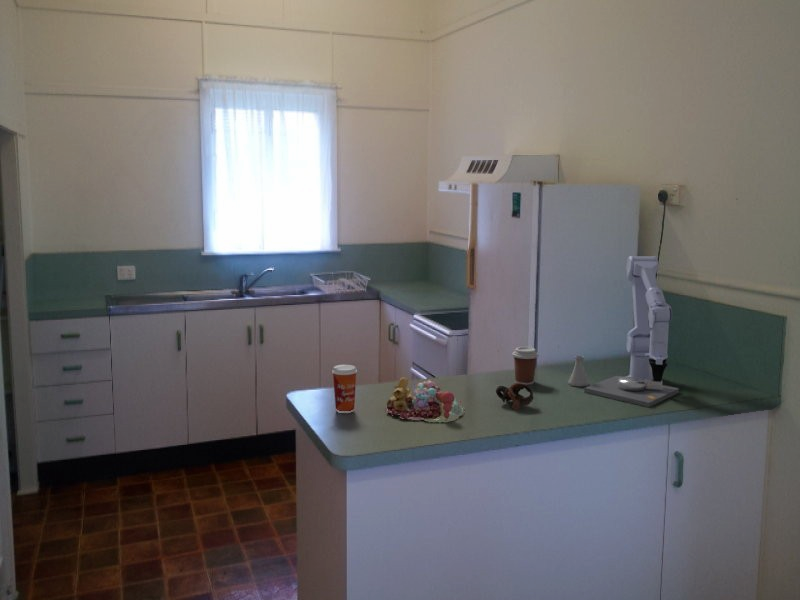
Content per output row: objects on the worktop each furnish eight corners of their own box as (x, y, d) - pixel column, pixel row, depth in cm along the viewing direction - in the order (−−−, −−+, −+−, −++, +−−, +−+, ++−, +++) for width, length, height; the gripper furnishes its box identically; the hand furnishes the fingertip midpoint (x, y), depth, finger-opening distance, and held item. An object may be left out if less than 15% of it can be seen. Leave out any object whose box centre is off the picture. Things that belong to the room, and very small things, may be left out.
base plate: (616, 379, 272) (616, 374, 271) (678, 392, 256) (679, 387, 256) (584, 392, 256) (584, 387, 256) (648, 407, 240) (649, 402, 240)
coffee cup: (541, 381, 269) (542, 348, 267) (531, 387, 262) (532, 353, 259) (517, 377, 274) (518, 344, 272) (507, 383, 266) (508, 349, 264)
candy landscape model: (378, 421, 227) (378, 391, 226) (391, 397, 250) (391, 370, 248) (462, 425, 224) (463, 395, 222) (467, 401, 246) (467, 374, 245)
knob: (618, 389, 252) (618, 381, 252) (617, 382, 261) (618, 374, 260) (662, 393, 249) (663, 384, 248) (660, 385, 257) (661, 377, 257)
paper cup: (338, 416, 230) (337, 371, 228) (328, 409, 237) (328, 365, 234) (361, 412, 234) (361, 368, 231) (351, 405, 240) (351, 362, 238)
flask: (587, 381, 269) (588, 354, 267) (590, 387, 261) (591, 359, 260) (566, 381, 269) (567, 353, 267) (569, 387, 262) (570, 358, 260)
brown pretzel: (531, 402, 246) (537, 384, 241) (526, 423, 239) (532, 405, 234) (495, 391, 248) (500, 373, 243) (489, 411, 241) (495, 393, 236)
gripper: (645, 337, 262) (643, 375, 263) (647, 344, 248) (645, 385, 249) (667, 338, 260) (665, 377, 261) (670, 346, 246) (667, 387, 248)
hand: (656, 381), depth 255 cm, fingers open, 4 cm apart
